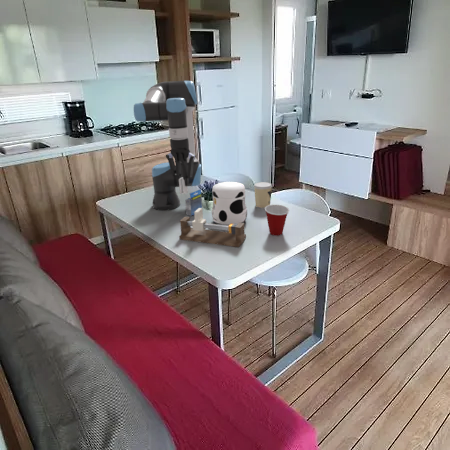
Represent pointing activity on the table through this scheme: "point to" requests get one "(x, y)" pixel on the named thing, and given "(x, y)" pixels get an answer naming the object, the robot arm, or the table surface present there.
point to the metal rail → (218, 226)
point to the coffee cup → (262, 194)
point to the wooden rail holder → (212, 235)
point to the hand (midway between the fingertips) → (183, 192)
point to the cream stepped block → (198, 220)
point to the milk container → (229, 203)
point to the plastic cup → (276, 218)
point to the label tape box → (193, 202)
